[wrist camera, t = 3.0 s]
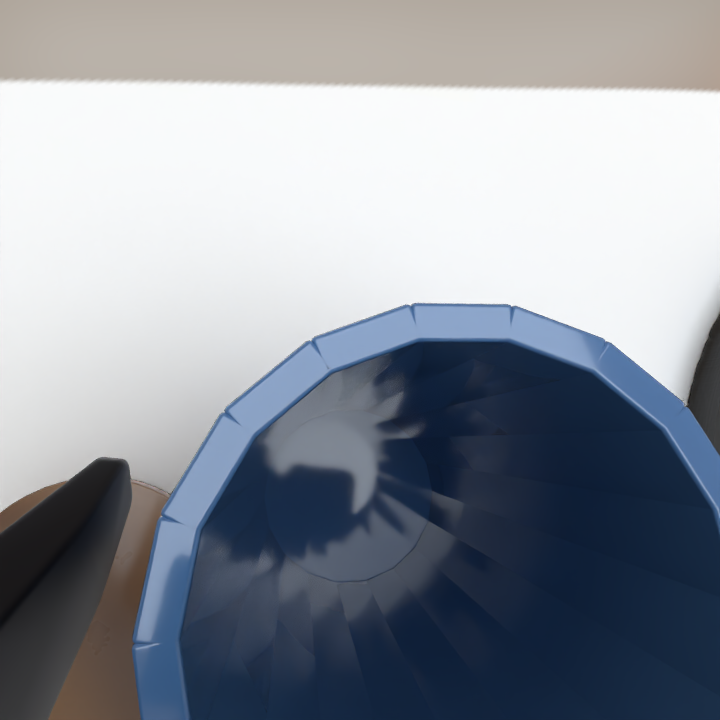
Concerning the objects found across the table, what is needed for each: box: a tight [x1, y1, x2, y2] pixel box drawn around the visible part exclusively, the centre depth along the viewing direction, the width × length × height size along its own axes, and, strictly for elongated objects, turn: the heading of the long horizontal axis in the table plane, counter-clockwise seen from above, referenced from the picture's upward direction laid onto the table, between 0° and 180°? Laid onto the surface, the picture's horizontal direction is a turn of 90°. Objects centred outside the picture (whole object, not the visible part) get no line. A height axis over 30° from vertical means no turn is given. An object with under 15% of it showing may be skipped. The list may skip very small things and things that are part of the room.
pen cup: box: [132, 303, 720, 720], centre depth 11 cm, size 6×6×12 cm
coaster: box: [0, 480, 170, 720], centre depth 15 cm, size 8×8×1 cm
